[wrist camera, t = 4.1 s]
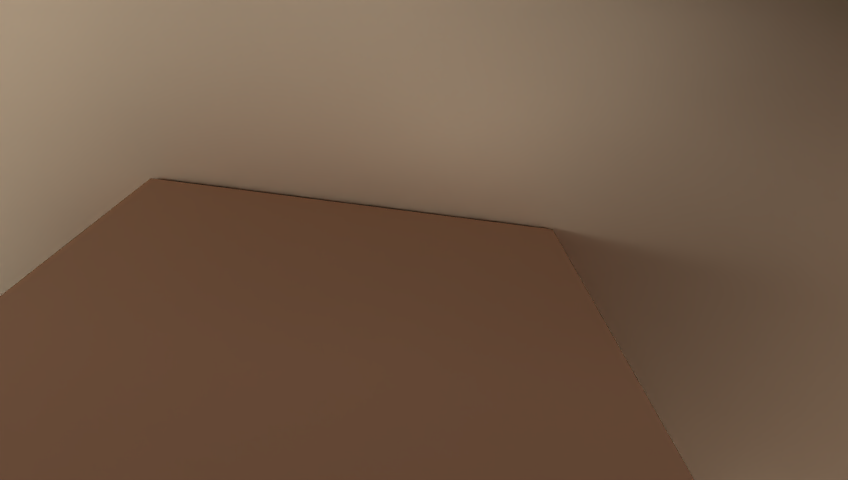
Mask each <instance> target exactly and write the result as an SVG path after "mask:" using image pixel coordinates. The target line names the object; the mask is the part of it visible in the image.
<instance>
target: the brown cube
mask: <svg viewBox="0 0 848 480" xmlns="http://www.w3.org/2000/svg"><path fill="white" fill-rule="evenodd" d="M0 480H694V479H693V477H692V475H691V474H690V472H689V470H688V468H687V467H686V465H685V463H684V461H683V459H682V458H681V456H680V454H679V452H678V451H677V449H676V447H675V445H674V444H673V442H672V440H671V438H670V436H669V435H668V433H667V431H666V429H665V428H664V426H663V424H662V422H661V421H660V419H659V417H658V415H657V413H656V412H655V410H654V408H653V406H652V405H651V403H650V401H649V399H648V398H647V396H646V394H645V392H644V390H643V389H642V387H641V385H640V383H639V382H638V380H637V378H636V376H635V375H634V373H633V371H632V369H631V368H630V366H629V364H628V362H627V360H626V359H625V357H624V355H623V353H622V352H621V350H620V348H619V346H618V345H617V343H616V341H615V339H614V337H613V336H612V334H611V332H610V330H609V329H608V327H607V325H606V323H605V322H604V320H603V318H602V316H601V314H600V313H599V311H598V309H597V307H596V306H595V304H594V302H593V300H592V299H591V297H590V295H589V293H588V291H587V290H586V288H585V286H584V284H583V283H582V281H581V279H580V277H579V276H578V274H577V272H576V270H575V268H574V267H573V265H572V263H571V261H570V260H569V258H568V256H567V254H566V253H565V251H564V249H563V247H562V246H561V244H560V242H559V240H558V238H557V237H556V235H555V233H554V231H553V230H552V229H545V228H537V227H529V226H521V225H513V224H505V223H498V222H490V221H482V220H474V219H466V218H458V217H450V216H442V215H435V214H427V213H419V212H411V211H403V210H395V209H387V208H380V207H372V206H364V205H356V204H348V203H340V202H332V201H325V200H317V199H309V198H301V197H293V196H285V195H277V194H270V193H262V192H254V191H246V190H238V189H230V188H222V187H214V186H207V185H199V184H191V183H183V182H175V181H167V180H159V179H152V178H151V179H149V180H148V181H147V182H145V183H144V184H143V185H142V186H140V187H139V188H138V189H137V190H135V191H134V192H133V193H131V194H130V195H129V196H128V197H126V198H125V199H124V200H122V201H121V202H120V203H119V204H117V205H116V206H115V207H114V208H112V209H111V210H110V211H108V212H107V213H106V214H105V215H103V216H102V217H101V218H100V219H98V220H97V221H96V222H94V223H93V224H92V225H91V226H89V227H88V228H87V229H85V230H84V231H83V232H82V233H80V234H79V235H78V236H77V237H75V238H74V239H73V240H71V241H70V242H69V243H68V244H66V245H65V246H64V247H62V248H61V249H60V250H59V251H57V252H56V253H55V254H54V255H52V256H51V257H50V258H48V259H47V260H46V261H45V262H43V263H42V264H41V265H39V266H38V267H37V268H36V269H34V270H33V271H32V272H31V273H29V274H28V275H27V276H25V277H24V278H23V279H22V280H20V281H19V282H18V283H17V284H15V285H14V286H13V287H11V288H10V289H9V290H8V291H6V292H5V293H4V294H2V295H1V296H0Z"/></svg>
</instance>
